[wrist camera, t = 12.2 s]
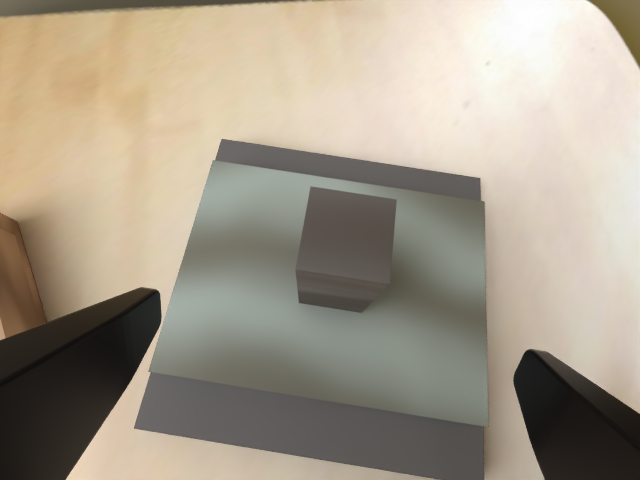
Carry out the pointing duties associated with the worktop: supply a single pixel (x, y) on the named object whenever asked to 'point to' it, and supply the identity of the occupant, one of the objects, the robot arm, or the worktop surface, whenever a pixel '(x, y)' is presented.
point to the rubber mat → (313, 414)
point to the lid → (333, 294)
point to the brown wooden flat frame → (16, 284)
